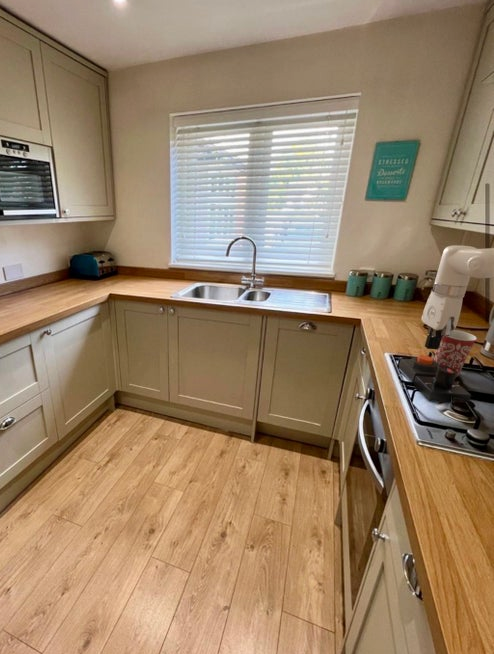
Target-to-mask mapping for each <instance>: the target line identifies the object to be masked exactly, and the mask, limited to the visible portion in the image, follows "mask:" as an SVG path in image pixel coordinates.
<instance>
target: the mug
mask: <svg viewBox="0 0 494 654" xmlns="http://www.w3.org/2000/svg"><path fill="white" fill-rule="evenodd" d="M477 340H478V337H477V336H476V335H474V334H472V333H469V332H467V331H463V330H457V329H454V330H453V331H450V335H449V336H444V337H443V338H442V339H441V343H440V346H439V349H435V350H436V351H435V354H434V358H433V359H434V360H433V361H435V362H437V363H438V367H439V366H447V367H451V368H453V369H455V370H457V375H456V378H457V377H459V375H460V374H461V372H462V369H463V367H464V365H465V363H466V361H467V359H468V357H469V355H470V353H471V350H472V348H473V346H474V345H475V342H476V341H477Z"/></svg>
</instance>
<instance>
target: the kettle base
mask: <svg viewBox="0 0 494 654" xmlns="http://www.w3.org/2000/svg"><path fill="white" fill-rule="evenodd" d="M417 359H418V356H413V357H412V358H400V361H399V364H398V368H399V369H400V371H402V372H403V373H404V375H405V376H406V377H407V379H409V380H410V381H411V382H412V383H414V380H415V377H416V376H423V377H435V375H436V372H437V370H438V363H437V362H435V361H434V360H433V363H432V365H425V364H421V363H419V362H417Z"/></svg>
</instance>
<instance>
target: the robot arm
mask: <svg viewBox="0 0 494 654" xmlns="http://www.w3.org/2000/svg"><path fill="white" fill-rule="evenodd" d="M471 278H475V279H489V278H490V279H491V278H492V279H493V278H494V247H489V248H488V247H487V248H477V247H474V246H470V245H458V244H457V245H455V244H454V245H448V246H446V247H445V248H444V249H443V252H442V255H441V259H440V262H439V266H438V269H437V273H436V275H435V280H434V283H433V287H432V290H431V292H430V294H429V296H428V298H427V301H426V303H425V306H424V309H423V311H422V315H421V320H420V321H421V322H422V323H424V324H425V325H426V327H427V332H426V333H427V336H426V340H425V343H424V347H425V348H426V349H427V350H437V349H439V346H440V343H441V339H442V338H443V337H444V336H449V335H450V331H453V330H456V328H457V325H458V323H459V320H460V315H461V311H462V307H463V300H464V299H463V298H464V297H465V294H466V291H467V288H468V285H469V283H470V279H471Z"/></svg>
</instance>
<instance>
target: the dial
mask: <svg viewBox="0 0 494 654" xmlns="http://www.w3.org/2000/svg"><path fill="white" fill-rule="evenodd" d="M456 375H457V370H455V369H453V368H451V367H447V366H439V367H438V370H437V372H436V375H435V378H434V381H433V383H434V384H435V385H436V386H438V387H441V388H445V389H450V388H452V386H453V383H454V381H455V380H456V378H457V377H456Z"/></svg>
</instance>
